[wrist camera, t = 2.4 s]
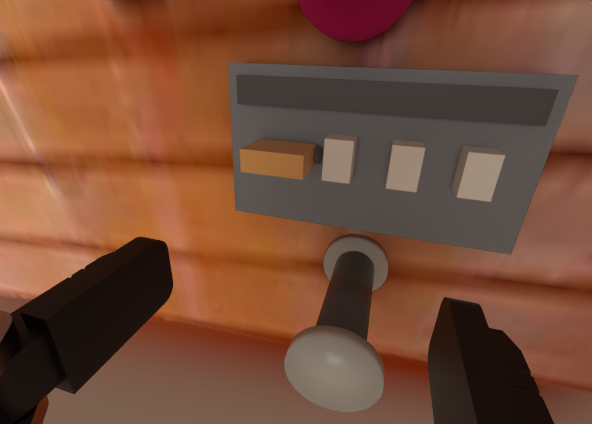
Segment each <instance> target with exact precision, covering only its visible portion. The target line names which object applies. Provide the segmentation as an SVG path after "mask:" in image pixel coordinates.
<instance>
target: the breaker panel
mask: <svg viewBox="0 0 592 424" xmlns="http://www.w3.org/2000/svg"><path fill="white" fill-rule="evenodd" d="M228 65H229V86H230V106H231V127H232V147H233V167H234V188H235V208H236V210H237V211H244V212H250V213H256V214H262V215H268V216H275V217H281V218H287V219H293V220H300V221H306V222H312V223H318V224H324V225H331V226H337V227H343V228H349V229H355V230H362V231H368V232H374V233H380V234H387V235H393V236H399V237H405V238H411V239H418V240H424V241H430V242H436V243H443V244H449V245H455V246H461V247H467V248H474V249H480V250H486V251H492V252H498V253H505V254H511V252H512V250H513V247H514V244H515V242H516V239H517V237H518V234H519V231H520V229H521V226H522V223H523V221H524V218H525V215H526V213H527V210H528V207H529V205H530V202H531V199H532V197H533V194H534V191H535V189H536V186H537V184H538V181H539V178H540V176H541V173H542V170H543V168H544V165H545V162H546V160H547V157H548V154H549V152H550V149H551V146H552V144H553V141H554V138H555V136H556V133H557V131H558V128H559V125H560V123H561V120H562V117H563V115H564V112H565V109H566V107H567V104H568V101H569V99H570V96H571V93H572V91H573V88H574V86H575V83H576V80H577V78H578V75H558V74H530V73H503V72H476V71H449V70H422V69H394V68H367V67H340V66H313V65H286V64H258V63H231V62H228ZM259 139H269V140H279V141H289V142H299V143H310V144H316V147H318V148H322V160H321V163H320V164H315V166H314V167H313V168H312V170H311V171H310V172H309V173H308V174H307V175H306V177H305V178H304V179H303V180H300V179H292V178H284V177H276V176H269V175H261V174H253V173H245V172H241V168H240V148H242V147H244V146H246V145H248V144H250V143H253V142H254V141H257V140H259Z"/></svg>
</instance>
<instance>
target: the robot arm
mask: <svg viewBox="0 0 592 424" xmlns="http://www.w3.org/2000/svg"><path fill="white" fill-rule="evenodd" d="M172 289H173V279H172V272H171V266H170V259H169V253H168V247H167V245H166V243H165V242H164V241H160V240H155V239H150V238H145V237H137V238H135V239H133V240H132V241H130V242H129V243H127V244H126V245H124V246H122V247H121V248H119V249H118V250H116V251H115V252H112V253H109V254H107V255H104V256H102V257H100V258H98V259H97V260H95V261H94V262H92V263H90V264H89V265H87V266H86V267H85V269H81V270H79V271H78V272H76V273H74V274H73V275H72V277H71V278H66V279H65V280H63V281H62V282H60V283H59V284H57V285H55V286H54V287H52V288H51V289H49V290H47V291H46V292H44V293H43V294H41V295H39V296H38V297H36V298H35V299H33V300H31V301H30V302H28V303H27V304H25V305H24V306H22V307H20V308H19V309H17V310H16V311H14V312H12V313H11V314H9V313H8V312H6V311H0V424H43V420H44V417H45V415H46V412H47V408H48V404H49V401H48V397H47V394H49V393H50V392H51V391H52V390H53V389H54V388H55V387H56V388H58V389H61V390H64V391H67V392H70V393H72V394H75V393H76V392H77V391H78V390H79V389H80V388H81V387H82V386H83V385H84V384H85V383H86V382H87V381H88V380H89V379H90V378H91V377H92V376H93V375H94V374H95V373H96V372H97V371H98V370H99V369H100V368H101V367H102V366H103V365H104V364H105V363H106V362H107V361H108V360H109V359H110V358H111V357H112V356H113V355H114V354H115V353H116V352H117V351H118V350H119V349H120V348H121V347H122V346H123V345H124V344H125V343H126V342H127V341H128V340H129V339H130V338H131V337H132V336H133V335H134V334H135V333H136V332H137V331H138V330H139V329H140V328H141V327H142V326H143V324H145V323H146V322H147V321H148V320H149V319H150V318H151V317H152V316H153V315H154V314H155V313H156V312H157V311H158V310H159V309H160V308H161V307H162V306H163V305H164V304H165V303H166V301H167V300H168V299H169V297H170V295H171V292H172ZM428 372H429V381H430V389H431V398H432V407H433V416H434V424H554V422H553V420H552V418H551V416H550V414H549V411H548V409H547V407H546V405H545V402H544V400H543V398H542V397H541V396H540V395H539V389H538V387H537V385H536V383H535V380H534V378H533V377H531V372H530V369H529V367H528V365H527V363H526V361H525V358H524V356H523V354H522V352H521V350H520V349H519V348H518V347H517V346H516V345H515V344H514V343H513V341H512V340H511V339H510V338H509V337H508V336H507V335H506V334H505V333H504V332H503V331H501V330H497V329H492V328H489V327H488V324H487V321H486V319H485V316H484V313H483V311H482V308H481V306H480V305H479V304H477V303H472V302H467V301H462V300H457V299H452V298H447V297H445V298H444V299H443V301H442V303H441V306H440V310H439V313H438V317H437V320H436V323H435V327H434V330H433V334H432V337H431V341H430V345H429V351H428Z"/></svg>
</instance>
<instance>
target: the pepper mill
mask: <svg viewBox="0 0 592 424" xmlns="http://www.w3.org/2000/svg"><path fill="white" fill-rule="evenodd" d="M298 2H299V4H300V7H301V8H302V10H303V12H304V13H305V15H306V17H307V18H308V19H309V20H310V21H311V23H312V24H313V25H314V26H315V27H316V28H317V29H318V30H320V31H321V32H322V33H324V34H325V35H327V36H328V37H331V38H333V39H336V40H340V41H345V42H358V41H363V40H367V39H370V38H372V37H375V36H377V35H379V34H381V33H382V32H384V31H385V30H387V29H389V28H390V27H391V26H392V25H393V24H394V23H395V22H396V21H398V20H399V19H400V17H401V16H402V15H403V14H404V12H405V11H406V10H407V9H408V7H409V5H410V4H411V2H412V0H298Z"/></svg>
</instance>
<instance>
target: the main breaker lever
mask: <svg viewBox="0 0 592 424" xmlns="http://www.w3.org/2000/svg"><path fill="white" fill-rule="evenodd" d="M321 160H322V148H318V147H316V144H310V143H299V142H289V141H279V140H269V139H259V140H257V141H254V142H253V143H250V144H248V145H246V146H244V147H242V148H240V168H241V172H245V173H253V174H261V175H269V176H276V177H284V178H292V179H300V180H303V179H304V178H305V177H306V175H307V174H308V173H309V172H310V171H311V170H312V168H313V167H314V166H315V164H320V163H321Z"/></svg>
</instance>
